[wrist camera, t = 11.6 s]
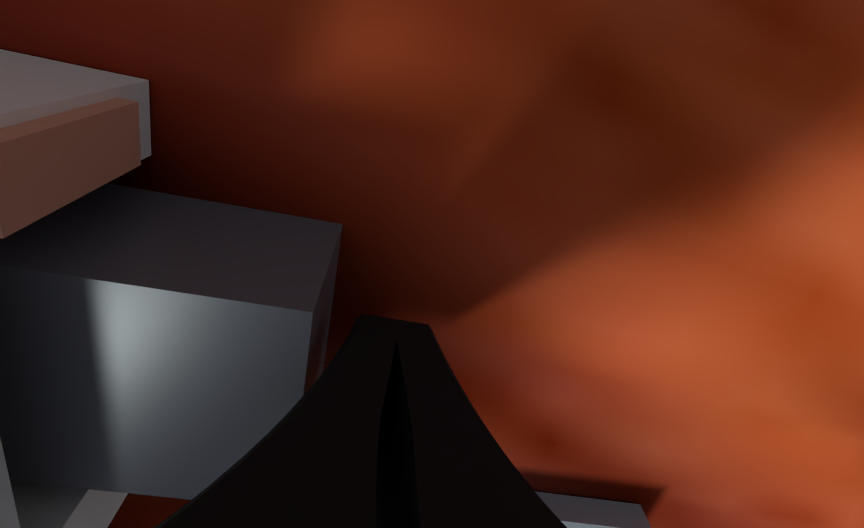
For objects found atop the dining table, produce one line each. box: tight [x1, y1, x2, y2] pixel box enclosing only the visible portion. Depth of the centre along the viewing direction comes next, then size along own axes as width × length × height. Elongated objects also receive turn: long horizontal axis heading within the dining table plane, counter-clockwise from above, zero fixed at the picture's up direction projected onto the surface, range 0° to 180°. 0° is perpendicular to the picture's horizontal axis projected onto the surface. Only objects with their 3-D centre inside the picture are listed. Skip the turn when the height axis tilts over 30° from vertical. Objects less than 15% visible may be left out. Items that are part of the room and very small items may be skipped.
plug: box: [0, 183, 343, 500], centre depth 9 cm, size 4×8×4 cm, turn 79°
